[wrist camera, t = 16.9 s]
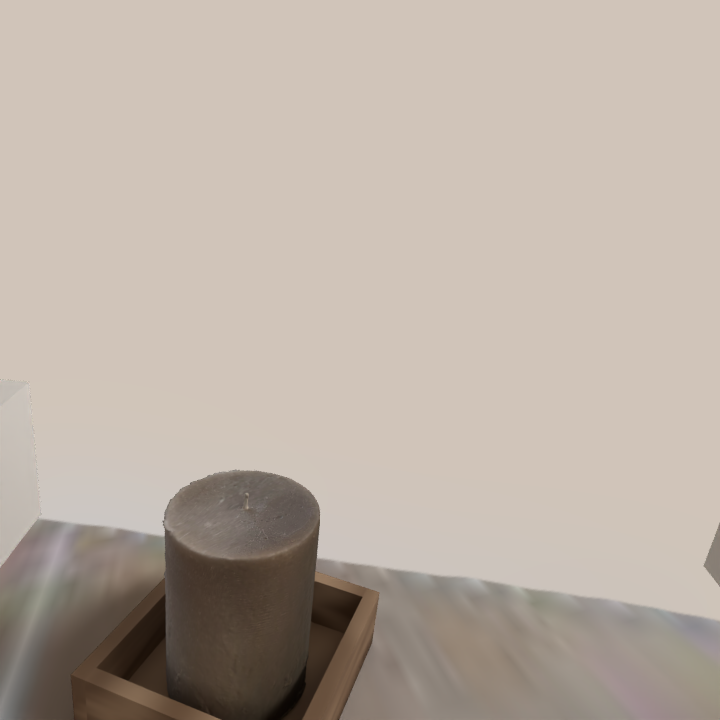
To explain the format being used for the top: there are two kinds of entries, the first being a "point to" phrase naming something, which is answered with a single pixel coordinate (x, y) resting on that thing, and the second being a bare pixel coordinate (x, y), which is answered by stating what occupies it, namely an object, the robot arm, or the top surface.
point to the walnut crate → (166, 716)
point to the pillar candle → (239, 593)
